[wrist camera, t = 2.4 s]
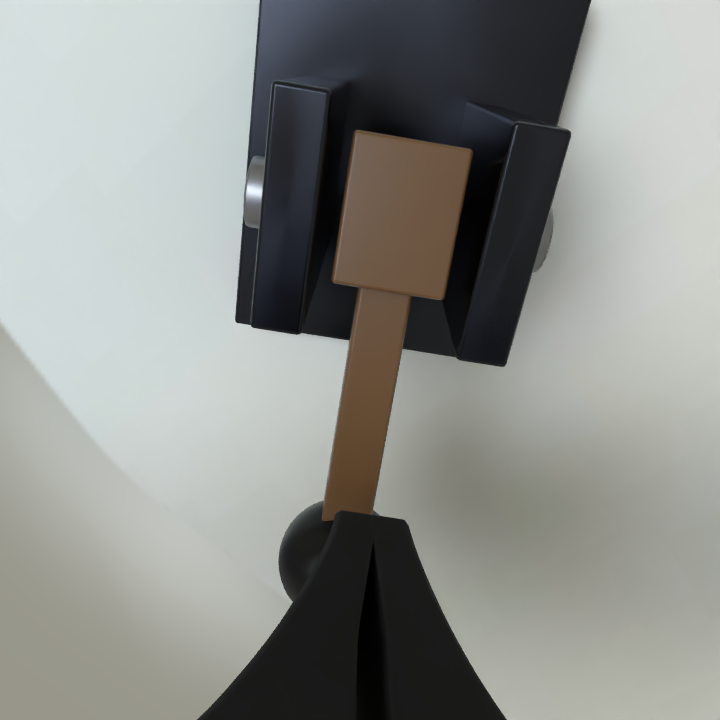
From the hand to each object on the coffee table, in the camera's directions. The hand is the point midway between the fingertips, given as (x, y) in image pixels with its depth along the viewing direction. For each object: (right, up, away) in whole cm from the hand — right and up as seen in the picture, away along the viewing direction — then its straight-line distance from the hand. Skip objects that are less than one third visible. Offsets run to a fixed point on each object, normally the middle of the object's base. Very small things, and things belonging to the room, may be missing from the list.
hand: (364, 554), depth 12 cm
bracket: (+1, +9, +6) cm, 11 cm away
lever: (0, +3, +3) cm, 4 cm away
